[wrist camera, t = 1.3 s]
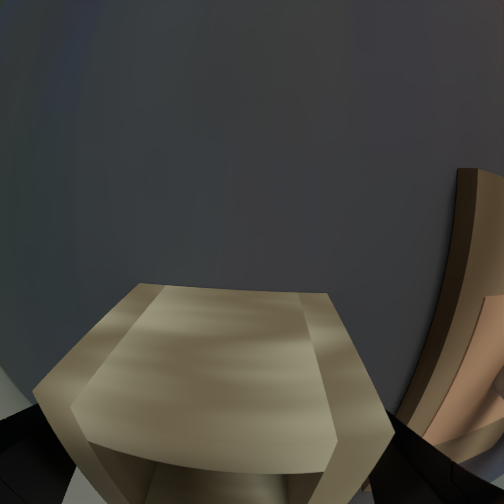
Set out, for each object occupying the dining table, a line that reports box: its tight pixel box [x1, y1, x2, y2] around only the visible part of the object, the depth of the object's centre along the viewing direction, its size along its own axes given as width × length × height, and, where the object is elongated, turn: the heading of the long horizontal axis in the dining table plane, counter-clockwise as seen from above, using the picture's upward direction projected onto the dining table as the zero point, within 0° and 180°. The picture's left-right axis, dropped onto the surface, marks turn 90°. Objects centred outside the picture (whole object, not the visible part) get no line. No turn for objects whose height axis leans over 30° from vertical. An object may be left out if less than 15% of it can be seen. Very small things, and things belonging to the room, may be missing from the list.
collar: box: [32, 283, 395, 504], centre depth 7 cm, size 6×6×6 cm
